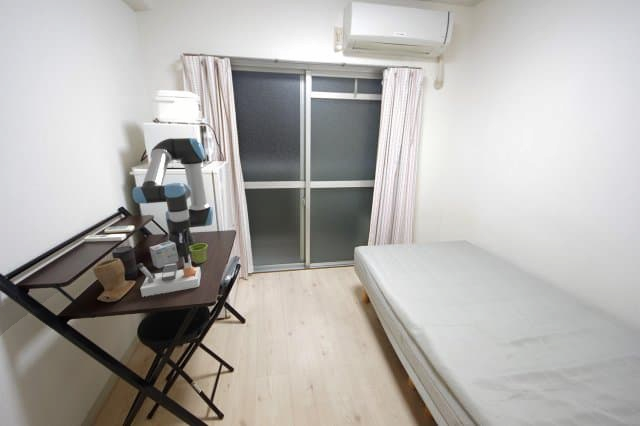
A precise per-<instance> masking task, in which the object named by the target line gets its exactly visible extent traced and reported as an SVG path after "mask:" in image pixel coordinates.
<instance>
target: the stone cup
mask: <svg viewBox="0 0 640 426" xmlns="http://www.w3.org/2000/svg"><path fill="white" fill-rule="evenodd" d="M124 273H125V270H124V266H123V263H122V261H121V260H120V259H118V258H116V259H113V258H111V259H107V260H104V261H101V262H98V263H97V264H95V265H94V266H93V274H94V276H95V278H97V280H98V281H99V282H100V284H101V285H102V287H103V288H104V289H103V290H104V291H102V293H101V294H100V295H99V296H98V297H97V300H98V301H101V302H104V303H105V302H106V303H113V302H117V301H119V300H120V299H122V297H124V296H125V295H126V294H127V293H128V292H129V291H130V290H131V289H132V288H133V286H134V285H135V284H136V280H126V281H125V277H124Z"/></svg>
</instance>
